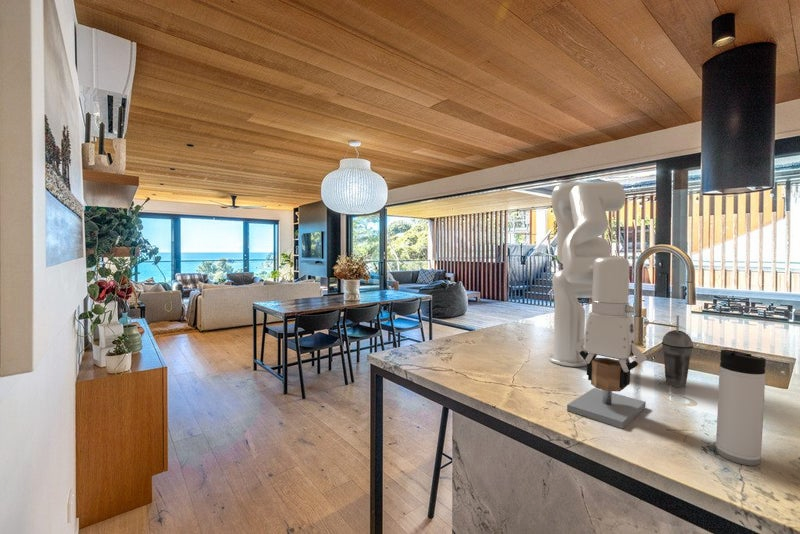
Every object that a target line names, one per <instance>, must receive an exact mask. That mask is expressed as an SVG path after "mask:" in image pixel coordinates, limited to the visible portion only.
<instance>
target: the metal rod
mask: <svg viewBox="0 0 800 534" xmlns="http://www.w3.org/2000/svg"><path fill="white" fill-rule="evenodd" d="M612 393H613V391H605V390H602V403H603V404H606V405H611V404H612Z"/></svg>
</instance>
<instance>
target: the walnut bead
mask: <svg viewBox="0 0 800 534" xmlns="http://www.w3.org/2000/svg"><path fill="white" fill-rule="evenodd" d="M621 371H622V367H621V364H620V362H619V360H618V359H615V358H610V357H596V358H595V359H593V360H592V376H591V380H590V385H592V386H593V388H596V389H600V390H605V391H612V392H618V393H619V392H621V391H623V390H624V389H622V388H620V372H621Z"/></svg>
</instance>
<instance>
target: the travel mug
mask: <svg viewBox="0 0 800 534" xmlns="http://www.w3.org/2000/svg"><path fill="white" fill-rule="evenodd" d="M766 361H767V359H766V358H765V357H758V356H755V355H752V354H751V353H746V352H742V351H738V350H737V351H736V350H731V349H729V350H728V349H721V350H720V362H719V371H718V372H719V375H718V390H717V391H718V395H717V412H716V413H717V416H716V417H717V418H716V436H715V437H716V438H715V451H716V453H717V454H718V455H719V456H720V457H722V458H724V459H726V460H728V461H729V462H733V463H736V464H740V465H744V466H749V467H750V466H751V467H752V466H753V467H754V466H758V465H760V464H761V461H762V449H763V448H762V446H763V427H764V425H763V424H764V412H765V411H764V408H765V406H764V405H765V393H766V392H765V389H766V365H767V364H766V363H767V362H766Z"/></svg>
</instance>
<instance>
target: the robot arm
mask: <svg viewBox="0 0 800 534" xmlns="http://www.w3.org/2000/svg"><path fill="white" fill-rule="evenodd" d="M625 203H626V191H625V189H624V187H623V185H622V184H620V183H619V182H618V181H598V182H597V181H593V182H590V181H589V182H588V181H587V182H567V183H562V184H558V185H556V186H555V187H554V188H553V190H552V192H551V207H552V212H553V214H554V217H555V220H556V224H557V226H556V227H557V231H556V233H557V235H556V236H557V241H556V243H557V244H556V245H557V246H556V247H557V248H556V250H557V253H556V254H557V259H558V261H559V263H561V264H562V269H559V270H558V271H556V272H554V274H553V276H552V282H551V283H552V290H553V302H554V314H553V315H554V316H553V317H554V319H553V320H554V321H553V322H554V323H553V328H554V330H553V334H554V335H553V353H551V354H549V355H548V360H549V361H550V362H552V363H554V364H557V365H559V366H564V367H574V368H578V367H585V366H586V375H587V380H588V381H591V376H592V360H593V359H595V358H597V356H602V357H604V358H610V359H615V360H619V362H620V364H621V367H622V371H621V372H620V388H622V389H623V390H624V389H625V388H626V387H628V386H630V384H631V371H632V370H633V369H634V368H637V366H639V365H640V364H643V362H646V360H647V356H646V355H645V354H644V353H643V352H642V351H641V350H640V349H639V348H638V347H637V345H636V334H635V327H634V321H633V316H632V315H629V313H635V312H636V306H632V305H630V302H629V293H630V292H629V289H630V288H629V287H630V262H629V260H628V259H627V258H625V257H622V256H621V257H620V256H617V255H611V247H610V244H609V241H608V240H607V239H606V238H604V237H601V236H602V235H603V234H604V233H606V232H607V230H608V228H609V220H608V216H607V212H617V211H620V210H622V208H623V207H624V206H625ZM582 298H583V299H584V298H585V299H586V298H587V299H591V300H592V301H591V311H590V312H589V313H588V315H587V316H588V317H587V319H586V310H585V308H584V306H583V305H582V304H581V303H580V301H578V299H582ZM634 356H635V357H636V358H635V359H634V360H633V361H630V358H631V357H634Z"/></svg>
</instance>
